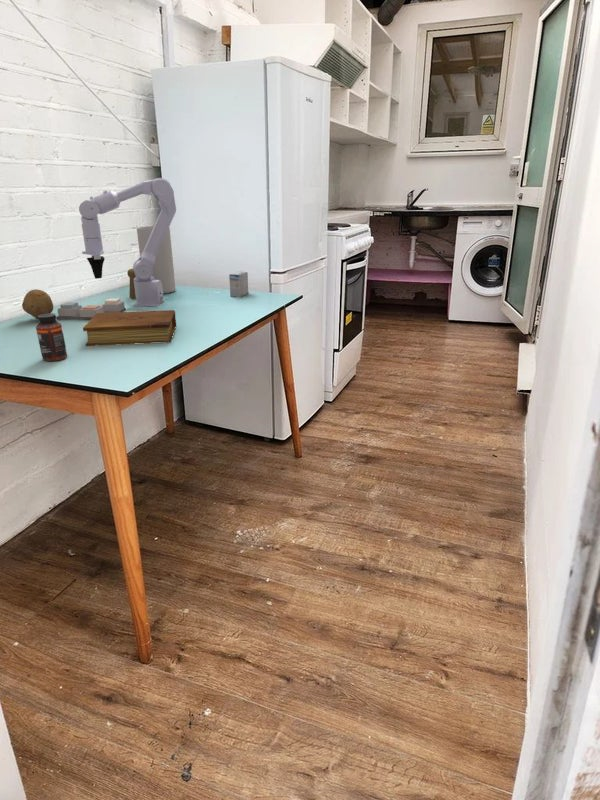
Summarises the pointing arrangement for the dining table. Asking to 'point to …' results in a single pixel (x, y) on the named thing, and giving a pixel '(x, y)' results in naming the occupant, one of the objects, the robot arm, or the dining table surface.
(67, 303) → the button slate
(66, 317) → the board
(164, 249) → the tall grey block
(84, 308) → the button terracotta
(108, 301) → the button cream
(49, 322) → the supplement bottle
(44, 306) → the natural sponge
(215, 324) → the dining table surface
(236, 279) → the medicine box
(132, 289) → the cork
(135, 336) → the diary
